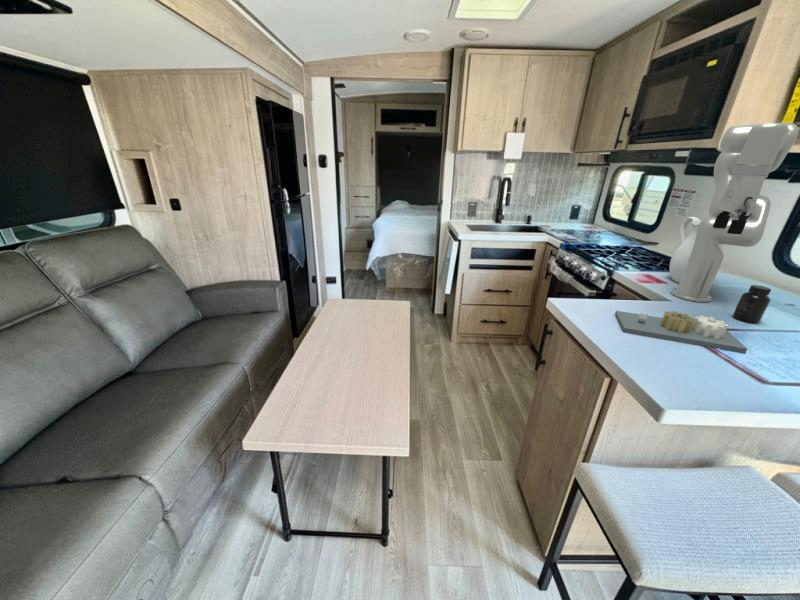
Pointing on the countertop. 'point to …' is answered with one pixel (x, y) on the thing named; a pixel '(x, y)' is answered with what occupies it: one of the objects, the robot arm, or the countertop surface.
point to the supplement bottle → (752, 304)
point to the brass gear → (677, 322)
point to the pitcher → (684, 249)
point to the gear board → (700, 333)
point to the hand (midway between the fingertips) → (726, 230)
